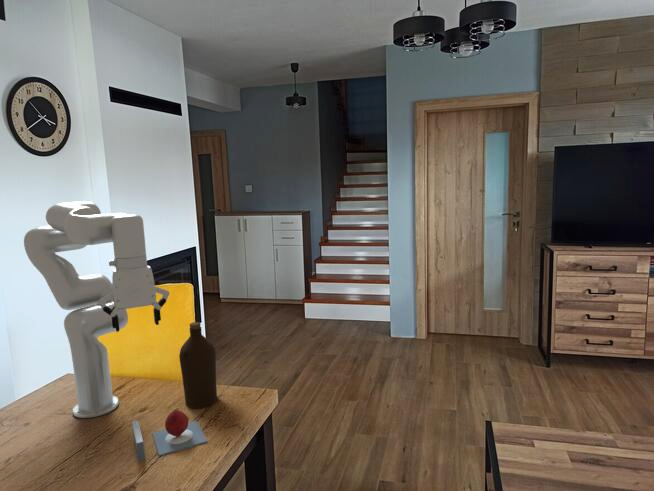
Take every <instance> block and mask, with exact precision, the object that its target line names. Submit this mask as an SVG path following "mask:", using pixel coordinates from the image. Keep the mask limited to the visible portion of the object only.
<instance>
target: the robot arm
mask: <svg viewBox="0 0 654 491" xmlns="http://www.w3.org/2000/svg"><path fill="white" fill-rule="evenodd" d="M45 221H46V223H47V224H48V225H44V226H38V227H35V228H32V229H30V230H29V231H27V232H26V233H25V235H24V238H23V245H24V246H23V247H24V250H25V254H26V256H27V257H28V259H29V261H30V262H31V264H32V265H33V266H34V267H35V269H37V271H38V272H39V273H40V274H41V275H42V277H43V278H44V279H45V282H46V283H47V286H48V288H49V289H50V292H51V293H52V296H53V298H55V302H56V303H57V304H58V306H59V307H60V308H61V309H63V310H64V311H65V310H66V311H70V312H69V313H68V314H67V315H66V316H65V317H64V320H63V326H64V330H65V333H66V337H67V340H68V344H69V349H70V353H71V359H72V360H71V361H72V367H73V368H72V369H73V375H74V384H75V391H76V393H75V394H76V398H77V404H76V405H75V406H74V407H73V408H72V414H73V415H74V417H77V418H80V419H90V418H95V417H99V416H103V415H105V414H108V413H111V412H112V411H113V410H115V409H116V408H117V407H118V406H119V402H120V401H119V398H118V396H115V395H113V388H112V378H111V372H110V362H109V355H108V354H109V353H108V349H107V346H105V345H104V344H103V342H101V341H100V340H99V339H98V338H99V337H102V336H104V335H107V334H110V333H114V332H116V333H119V332H120V330H122V329H123V328H125V327H126V326H127V324H128V323H129V315H128V311H127V310H129V309H134V308H141V307H147V306H153V309H152V310H153V320H154V323H155V325H156V326H159V325H160V321H162V319H161V318H162V317H161V316H162V314H161V309H162V308H163V306H164V305H165V304H166V302H167V300H168V298H169V296H170V291H169V290H167V289H164V288H161V287H157V286H156V284H155V279H154V274H153V270H152V267H151V266H150V265H148V260H147V259H148V258H147V251H146V250H147V249H146V238H145V237H146V236H145V228H144V227H145V226H144V219H143V217H142V216H141V215H139V214H127V213H124V212H115V213H114V212H113V213H102V212H101V209H100V208H99V207H98V205H97V204H96V203H94V202H92V201H89V200H87V201H71V202H59V203H56V204H54V205H52V206H50V207H49V208H48V209H47V211H46V213H45ZM108 243H113V244H112V245H113V255H114V258H113V259H112V260H109V261H108V266H109V267H114V269H113V271H112V276H111V278H112V282H111V280H110V279H109V278H108V277H107V276H106V275H104V274H101V273H92V274H87V275H79V273H78V271H77V270H76V268H75V266H74V265H73V264H72V263H71V262H70V261H69V260H67V259H66V258H65V257H62V256H60V255H58V254H56V253H61V252H62V253H63V252H68V251H75V250H80V249H84V248H85V247H87V246H94V245H101V244H108ZM157 294H160V295H162V296H161V298H160V299H159V301H157Z"/></svg>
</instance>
